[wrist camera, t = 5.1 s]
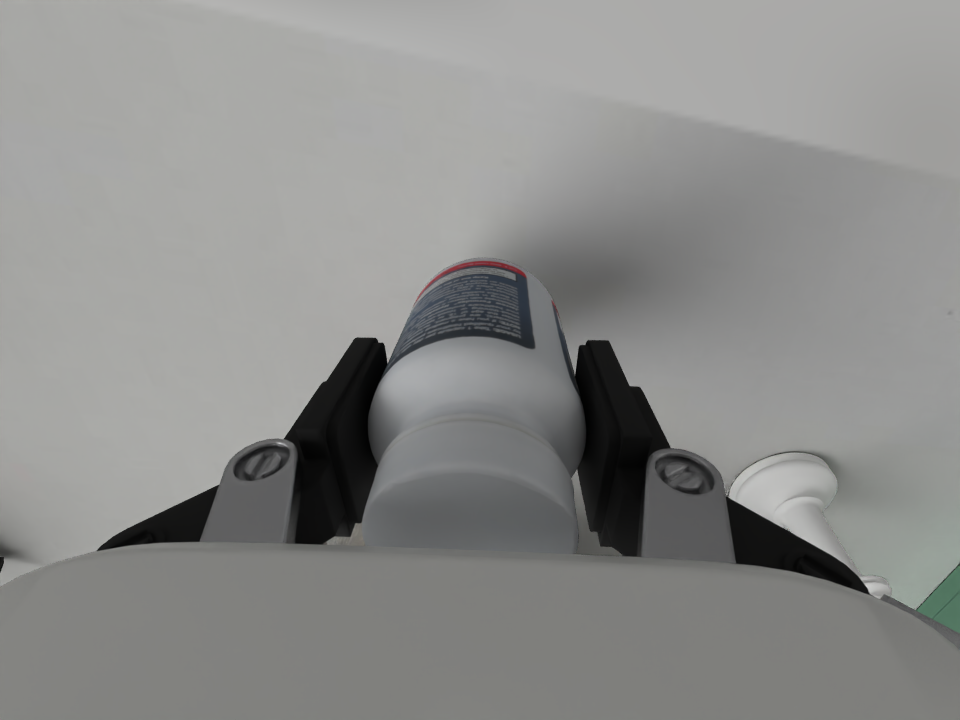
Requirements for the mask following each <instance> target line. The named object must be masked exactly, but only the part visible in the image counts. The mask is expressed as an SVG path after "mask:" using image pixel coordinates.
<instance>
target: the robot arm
mask: <svg viewBox="0 0 960 720" xmlns="http://www.w3.org/2000/svg"><path fill="white" fill-rule="evenodd" d="M386 366H387V358H386V351H385V346H384V344H383V343H378V340H377V339H376V338H355V339H354V340H353V342H352V343H351V345H350V346H349V348H348V349H347V351H346V352H345V354H344V355H343V357H342V358H341V360H340V361H339V363H338V364H337V366H336V367H335V369H334V371H333V372H332V374H331V375H330V377H329V378H328V380H327V381H325V382H323V383H322V384H321V385H320V386H319V388H318V389H317V391H316V392H315V394H314V395H313V397H312V398H311V400H310V401H309V403H308V404H307V406H306V407H305V409H304V410H303V412H302V413H301V415H300V416H299V417H298V419H297V420H296V422H295V423H294V425H293V426H292V428H291V429H290V431H289V432H288V434H287V435H286V437H285V438H284V439H278V438H277V439H267V440H263V441H259V442H256V443H254V444H252V445H249V446H247V447H245V448H244V449H242V450H241V451H239V452H238V453H237V454H236V455H235V456H234V457H233V458H232V459H231V460H230V461H229V462H228V464H227V466H226V468H225V470H224V473H223V476H222V479H221V482H220V485H217V486H215V487H213V488H211V489H209V490H207V491H205V492H203V493H201V494H199V495H197V496H194V497H192V498H190V499H188V500H186V501H184V502H182V503H180V504H178V505H176V506H174V507H171V508H169V509H167V510H165V511H163V512H161V513H159V514H157V515H155V516H153V517H150V518H148V519H146V520H144V521H142V522H140V523H138V524H136V525H134V526H132V527H130V528H127V529H126V530H124V531H122V532H120V533H119V534H117V535H115V536H113V537H112V538H111V539H110V540H108V541H107V542H106V543H104V544H103V545H102V546H101V547H100V548H99V549H98V550H97V551H95V552H91V553H87V554H84V555H80V556H76V557H73V558H69V559H65V560H62V561H58V562H55V563H52V564H50V565H47V566H44V567H41V568H39V569H36V570H34V571H31V572H29V573H26V574H24V575H22V576H19V577H17V578H15V579H13V580H11V581H10V582H8V583H6V584H4V585H2V586H1V587H0V720H960V633H958V632H956V631H954V630H952V629H950V628H948V627H946V626H944V625H943V624H941V623H939V622H937V621H935V620H933V619H931V618H929V617H927V616H925V615H923V614H922V613H920V612H918V611H916V610H914V609H912V608H910V607H908V606H906V605H904V604H902V603H901V602H899V601H897V600H895V599H893V598H891V597H889V596H887V595H885V594H884V595H883V596H882V597H881V598H880V599H878V598H876V597H874V596H872V595H871V594H870V593H869V591H868V588H867V587H866V586H865V584H864V583H863V582H862V581H861V579H860V578H859V577H858V575H856V574H855V573H854V572H853V571H852V570H851V569H850V568H849V567H848V566H847V565H845V564H844V563H843V562H841V561H839V560H838V559H836V558H835V557H833V556H832V555H830V554H829V553H827V552H825V551H823V550H821V549H820V548H818V547H816V546H814V545H812V544H811V543H809V542H807V541H805V540H803V539H802V538H800V537H798V536H796V535H795V534H793V533H791V532H789V531H787V530H786V529H784V528H782V527H780V526H778V525H777V524H775V523H773V522H771V521H769V520H768V519H766V518H764V517H762V516H760V515H759V514H757V513H755V512H753V511H751V510H750V509H748V508H746V507H744V506H743V505H741V504H739V503H737V502H735V501H734V500H732V499H730V498H728V497H726V496H725V489H724V483H723V480H722V477H721V475H720V473H719V472H718V470H717V469H716V468H715V467H714V466H713V465H712V464H711V463H710V462H708V461H707V460H706V459H704V458H703V457H701V456H699V455H697V454H695V453H692V452H689V451H686V450H682V449H674V448H671V447H670V445H669V443H668V441H667V439H666V437H665V435H664V433H663V431H662V429H661V427H660V425H659V423H658V421H657V419H656V417H655V415H654V413H653V411H652V409H651V407H650V405H649V403H648V401H647V399H646V397H645V395H644V393H643V391H642V389H641V388H640V387H634V386H629V384H628V382H627V380H626V377H625V375H624V373H623V371H622V369H621V366H620V364H619V362H618V360H617V358H616V356H615V353H614V351H613V349H612V347H611V345H610V342H609V341H605V340H588V341H587V342H586V345H580V346H579V350H578V358H577V366H576V374H575V378H576V382H577V385H578V389H579V393H580V396H581V400H582V403H583V408H584V414H585V420H586V444H585V449H584V453H583V457H582V459H581V461H580V464H579V466H578V468H577V470H578V475H579V480H580V485H581V490H582V495H583V500H584V505H585V510H586V515H587V520H588V525H589V529H590V531H591V532H597V533H598V537H599V542H600V546H605V547H613V548H614V549H616V550H617V551H618V552H620V553H621V554H622V556H603V555H580V554H557V553H534V552H510V551H485V550H459V549H432V548H405V547H378V546H347V545H327V541H328V540H330V539H331V538H333V537H351V535H352V532H353V529H354V526H355V523H359V524H360V523H361V522H362V519H363V514H364V510H365V506H366V503H367V500H368V497H369V494H370V491H371V488H372V485H373V482H374V478H375V474H376V471H377V468H378V464H377V462H376V460H375V458H374V456H373V454H372V451H371V447H370V443H369V438H368V415H369V410H370V406H371V403H372V400H373V397H374V394H375V392H376V389H377V387H378V384H379V382H380V380H381V378H382V375H383V373H384V371H385V369H386Z"/></svg>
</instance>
